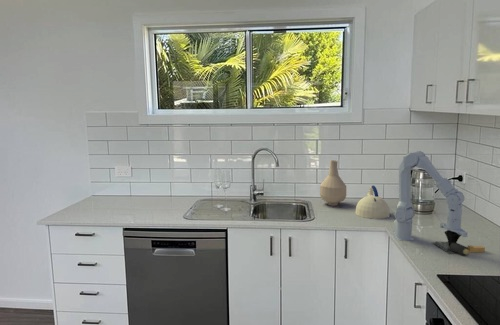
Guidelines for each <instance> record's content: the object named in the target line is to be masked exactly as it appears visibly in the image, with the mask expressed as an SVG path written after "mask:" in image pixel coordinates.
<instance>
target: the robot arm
mask: <svg viewBox="0 0 500 325" xmlns="http://www.w3.org/2000/svg"><path fill="white" fill-rule="evenodd" d="M414 168H420V169H423V170H425V172H426V173H427V174H428V175H429V176H430V177H431V178H432V179H433V180H434V181H435V187H436V188H437V189H438V190H439V191H440V193H441V194H442V195H443V196H444V197H445V201H446V204H447V214H446V223H444V222H440V223H439V227H440V228H441V229H444V230H446V231H444V235H445V236H446V239H447V242H448V243H449V245H448V246H449V248H450V244H451V243H452V242H456V243H458V240H459V239H460V238H461V237H462V238H467V237H468V232H467V231H465V229H463V228H461V226H462V215H463V214H462V212H463V203H464V201H465V195H464V193H463V192H462V191H459V189H458V188H456V187H455V186H454V185H453V184H452V180H450V179H448V178H446V177H443V176H442V175H441V174H440V172H439V171H438V169H437V168H436V167H435V165H434V164H433V163H432V161H431V160H430V158H429V157H428V156H427V155H426V154H425V153H424V152H423V151H421V150H418V151H413V152H409V153H406V154H405V155H404V156H403V157H402V160H401V162H400V164H399V166H398V203H397V206H396V210H395V211H394V218H395V219H394V221H393V224H392V225H393V226H392V227H393V228H392V233H391V234H390V235H391V236H392V237H394V238H395V239H397V240H399V241H412V240H413V241H415V240H416V239H415V238H414V237H412V234H413V233H412V231H413V218H414V217H415V215H416V212H415V209H414V204H413V203H412V198H411V196H412V195H411V194H412V192H411V191H412V190H411V188H412V179H411V178H412V176H411V174H412V173H411V172H412V170H413V169H414ZM448 243H447V244H448Z"/></svg>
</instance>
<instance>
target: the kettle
mask: <svg viewBox="0 0 500 325" xmlns="http://www.w3.org/2000/svg"><path fill="white" fill-rule="evenodd" d="M366 194H367V195H366V196H364V197H362V198H361V199H360V200H359V201H357V204H356V206H355V215H357V216H358V217H361V218H366V219H370V220H371V219H375V220H379V219H382V220H383V219H386V218H389V217H390V207H389V205H388V203H387V201H385V200H384V199H383V198H382V197H380V196H379V193H378V189H377V187H376V186H375V185H370V187H369V190H368V191H367V192H366Z"/></svg>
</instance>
